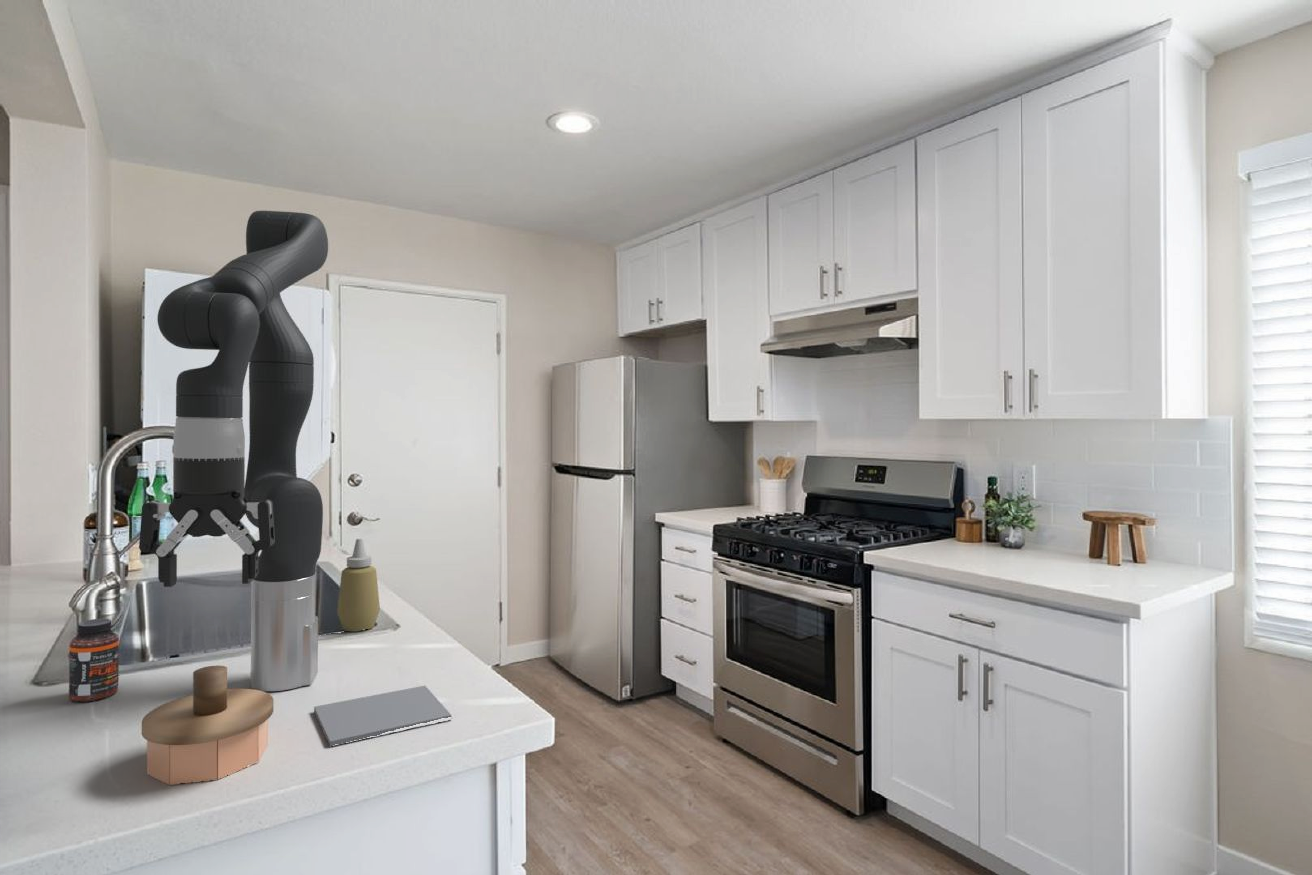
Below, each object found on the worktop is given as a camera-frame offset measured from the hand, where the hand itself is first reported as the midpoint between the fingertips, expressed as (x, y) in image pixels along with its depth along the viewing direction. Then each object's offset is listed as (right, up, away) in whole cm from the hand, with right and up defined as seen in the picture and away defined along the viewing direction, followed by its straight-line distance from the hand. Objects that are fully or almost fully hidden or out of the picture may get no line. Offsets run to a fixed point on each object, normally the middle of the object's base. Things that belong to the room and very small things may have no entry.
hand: (209, 584), depth 89 cm
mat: (+16, -22, +14) cm, 31 cm away
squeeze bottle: (-4, -21, +56) cm, 59 cm away
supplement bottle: (-30, -21, +19) cm, 41 cm away
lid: (0, -17, +1) cm, 17 cm away
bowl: (0, -22, +1) cm, 22 cm away
